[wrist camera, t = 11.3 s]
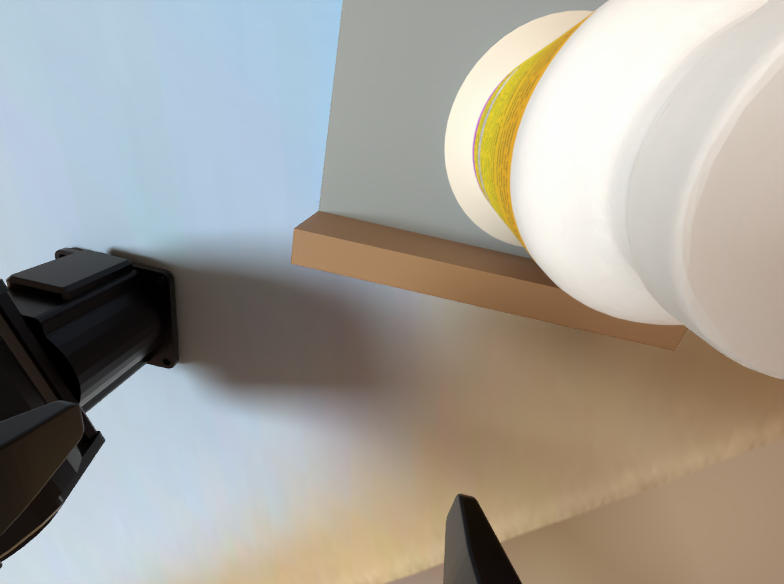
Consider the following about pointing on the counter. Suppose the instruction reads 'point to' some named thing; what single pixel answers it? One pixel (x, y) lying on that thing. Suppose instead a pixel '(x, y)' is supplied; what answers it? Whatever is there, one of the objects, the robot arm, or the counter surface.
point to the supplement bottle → (653, 167)
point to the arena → (435, 159)
